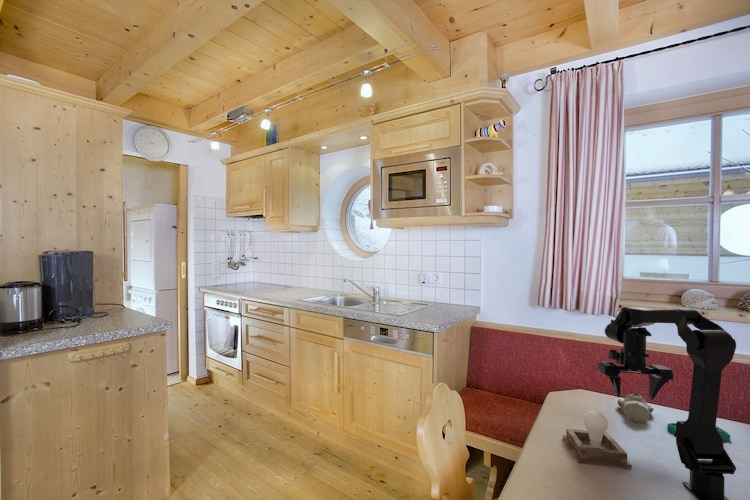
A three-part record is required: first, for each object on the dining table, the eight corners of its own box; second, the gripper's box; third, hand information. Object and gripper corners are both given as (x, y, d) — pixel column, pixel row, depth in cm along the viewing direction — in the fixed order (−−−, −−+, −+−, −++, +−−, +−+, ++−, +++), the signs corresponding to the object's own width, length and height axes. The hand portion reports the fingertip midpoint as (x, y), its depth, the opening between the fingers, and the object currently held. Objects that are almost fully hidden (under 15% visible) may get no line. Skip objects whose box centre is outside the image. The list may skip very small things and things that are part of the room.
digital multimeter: (732, 442, 109) (732, 433, 109) (686, 443, 108) (686, 433, 108) (709, 430, 116) (709, 421, 116) (665, 430, 115) (665, 421, 115)
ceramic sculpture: (618, 394, 122) (617, 383, 134) (617, 420, 121) (616, 407, 134) (657, 402, 116) (652, 390, 128) (657, 429, 116) (652, 414, 128)
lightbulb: (578, 446, 103) (578, 408, 103) (591, 441, 106) (591, 405, 106) (599, 457, 98) (599, 417, 98) (612, 452, 100) (613, 413, 100)
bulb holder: (631, 468, 94) (631, 455, 94) (578, 463, 97) (579, 450, 97) (608, 442, 107) (609, 431, 107) (562, 438, 110) (562, 427, 110)
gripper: (653, 342, 115) (653, 390, 115) (590, 339, 119) (590, 385, 119) (675, 352, 104) (675, 405, 104) (605, 348, 108) (605, 399, 108)
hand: (634, 398), depth 109 cm, fingers open, 9 cm apart
